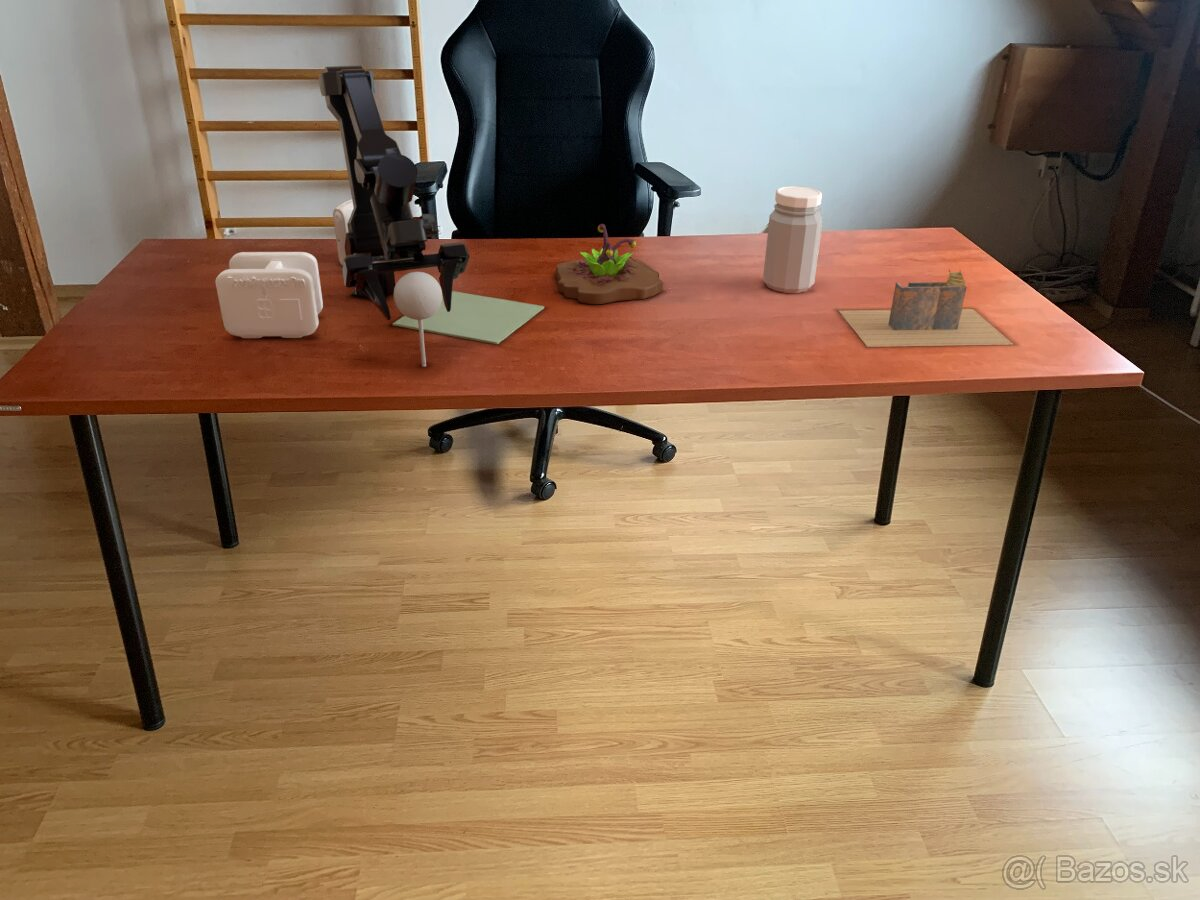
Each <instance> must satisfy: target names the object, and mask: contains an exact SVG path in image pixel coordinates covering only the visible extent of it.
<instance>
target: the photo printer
mask: <svg viewBox="0 0 1200 900" xmlns="http://www.w3.org/2000/svg"><path fill="white" fill-rule="evenodd" d="M353 208H354V207H353V201H352V198H351V199H348V200H346V201H344V202H342V203H340V204H339V205H337V206H336V207H335V208H334V209H333V212H332V219H333V226H334V234H335V241H336V248H337V257H338V262H339V263H340V265H341V266H342V267H343V262H344V259H345V257H346V254H345V239H346V233H348V226H347V224H348V221H349V219H350V216H351V213H352V211H353Z"/></svg>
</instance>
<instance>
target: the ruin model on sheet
mask: <svg viewBox="0 0 1200 900" xmlns="http://www.w3.org/2000/svg"><path fill="white" fill-rule="evenodd" d="M967 288H968V287H967V286H966V280H965V278H964V275H963V272H962V270H961V269H959V271H951V269H948V278H947V280H946V281H932V282H931V281H926V282H925V281H921V282H920V281H917V282H915V281H914V282H910V281H909V282H908V285H907V286H902V285H901V284H900V283H899V282H895V286H894V292H893V296H892V302H891V309H860V310H859V309H857V310H853V309H852V310H848V309H847V310H846V309H845V310H838V312H839V313H840V315H841V316H842V318H844V320H845V321H846V323H847V324H848V325H849V326H850V328H851V329H852V330H853V331H854V333H856V335H857V336H858V337H859V338H860V340H862V342H863V343H864V345H865V346H866V347H867V348H878V347H879V348H880V347H885V348H886V347H944V346H945V347H947V346H949V347H950V346H1005V345H1006V346H1008V345H1012V346H1013V345H1015V344H1014V343H1012V341H1011V340H1009V339H1008V338H1007V337H1006V336H1004V335H1003V334H1002V333H1001V332H1000V331H999V330H998V329H996V327H994V326H993V325H992V324H991V323H989V321H988V320H986V319H985V318H984V317H983V316H982V315H981V314H979V313H978V312H977V311H976V310H975V309H973V308H963V306H964V302H965V298H966V297H965V296H966V292H967Z"/></svg>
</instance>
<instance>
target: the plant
mask: <svg viewBox="0 0 1200 900" xmlns="http://www.w3.org/2000/svg"><path fill="white" fill-rule="evenodd" d="M597 231H598V233H602V234H603V236H602V238H603V240H602V242H603V245H602V247H601V249H600V251H598V250H597V249H595V248H591V254H590V253H587V252H585V251H580V252H579V253H580V255H581V256H582V257H583V258H580V259H576V260H570V261H563V262H560V263H557V265H556V266H555V267H556V268H555V278H556V279H557V280H556V281H557V292H558V293H561V294H563V296H564V298H565V299H571V300H572V299H573V300H577V301H578V303H581V304H586V305H604V304H611V303H614V302H621V301H633V300H646V299H647V298H652V297H654V296H656V295H657V294H659V293H662V292H663V285H664V284H663V280H662V279H660V272H659V271H658V270H656V269H653V268H652V267H650V266H649V264H647V263H645V262H644V261H642V260H640V259H636V258H633V257H631V256H632V255H633V252H632V251H631V252H626V253H623V254H622V255H619V254H618V253H619V251H618V248H619V247H620V246H621V245H622V244H625V243H628V245H629V247H630V248H631V249H635V248H636V247H637V242H636V241H635V240H634V239H631V238H623V239H621V240H619V241H618V242H616V243H615V245H613V246H612V242H610V241H609V235H608V232H607V228H606V225H605V224H604V223H600V224H599V225H598V226H597Z"/></svg>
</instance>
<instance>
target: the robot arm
mask: <svg viewBox="0 0 1200 900" xmlns="http://www.w3.org/2000/svg"><path fill="white" fill-rule="evenodd" d="M318 86H319V91H320V95H321V97H324V100H325V104H326V108H327V109H328V111H329V112H330V113H331V114H332V116H333V117H334V118H335V119H336V120H337V122H338V124H339V131H340V137H341V142H342V147H343V148H342V149H343V152H344V159H345V160H344V161H345V166H346V171H347V172H346V173H347V176H348V182H349V189H350V195H351V199H352V201H353V207H354V208H353V211H352V213H351V216H350V219H349V221H348V224H347V226H348V233H346V239H345V254H346V257H345V259H344V262H343V266H342V279H343V282H344V283H343V284H344V287H346V288H348V289H350V288H351V289H352V288H354V290H353V291H351V292H350V295H351V296H352V297H358V298H362V299H369V300H370V301H371V302H372V303H373V305H375V306H376V308H377V309H378V310H379V311H380V313H381V314H382V316H383V317H384V318H385V319H386V320H387V321H391V318H392V317H391V312H390V307H389V305H388V303H387V297H389V296H392V295H394V288H395V285H396V277H395V276H396V275H395V272H404V271H411V270H419V269H420V270H421V269H428V268H435V267H436V268H437V271H438V273H439V277H438V281H439V285H440V287H441V290H442V295H443V300H444V304H445V307H446V310H447V312H450V310H451V299H452V291H453V285H454V280H457V279H458V278H459V275H460V274H464V273H465V272H466V268H467V265H468V264H469V260H470V257H471V255H470V252H469V249H468V246H467V245H466V244H464V243H463V241H459V242H451V243H441V244H440V245H439V248H438V252H437V253H430V254H424V253H423V251H426V247H427V245H426V242H428V237H429V238H430V237H436V235H437V234H438V231H439V230H438V224H437V220H436V217H435V214H434V213H433V212H432V213H422V214H421V215H420V216H419V218H417V219H416V218H415V217H414V216H413V215H414V214H413V211H412V208H411V204H410V203H411V202H412V201H413V198H414V192H415V187H416V183H417V178H418V174H419V173H418V167H417V165H416V164H415V163H414V161H413V160H411V159H410V158H409V157H408V156H406V155H404V154H402V151H401V149H400V148H399V145H398V142H397V141H396V140H395V139H393V138H392V137H390V136H389V135H387V134H386V133H387V132H386V131H385V128H384V125H383V121H382V119H381V115H380V112H379V109H378V106H377V103H376V100H375V97H374V94H376V89H375V80H374V72H373V70H368V69H364V68H363V66H362V65H361V64H359V65H335V66H332V65H331V66H325V67H324V72H322V73H319V74H318Z"/></svg>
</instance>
